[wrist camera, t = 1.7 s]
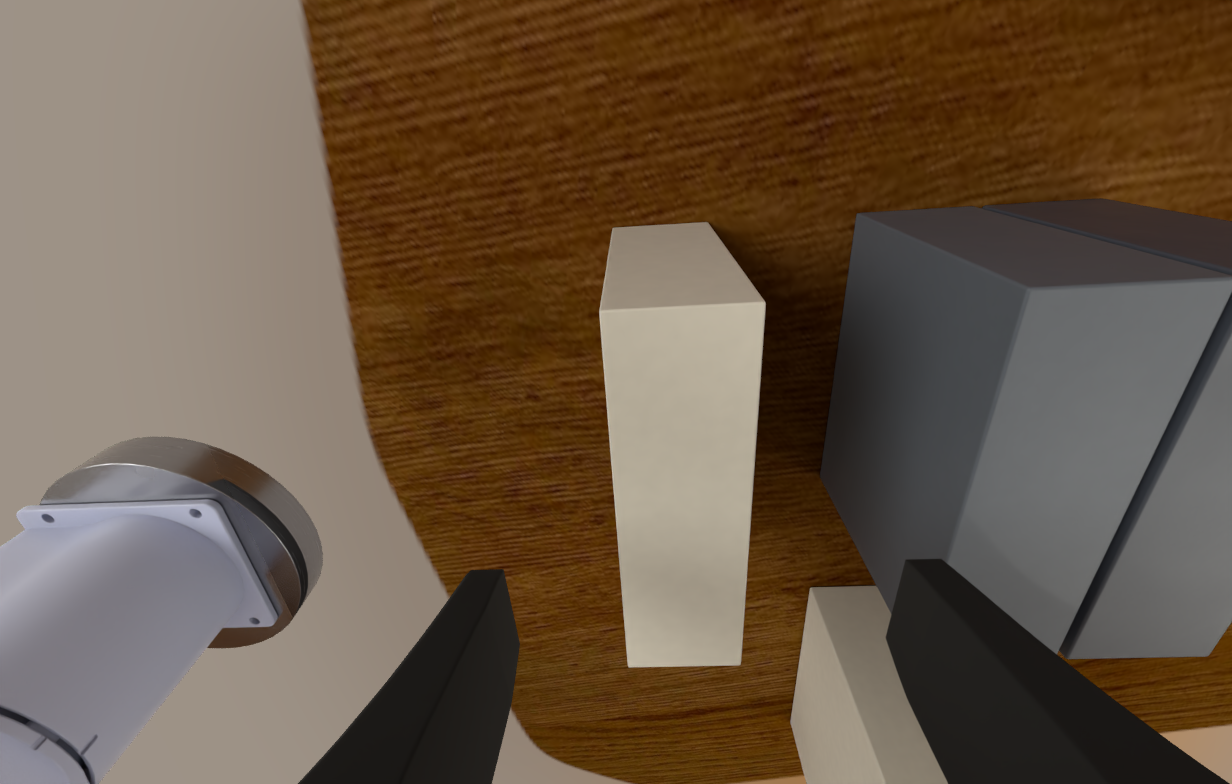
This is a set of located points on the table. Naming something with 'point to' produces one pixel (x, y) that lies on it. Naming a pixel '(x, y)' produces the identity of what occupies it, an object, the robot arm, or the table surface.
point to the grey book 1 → (1004, 398)
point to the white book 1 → (681, 438)
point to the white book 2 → (855, 697)
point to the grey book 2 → (1164, 466)
